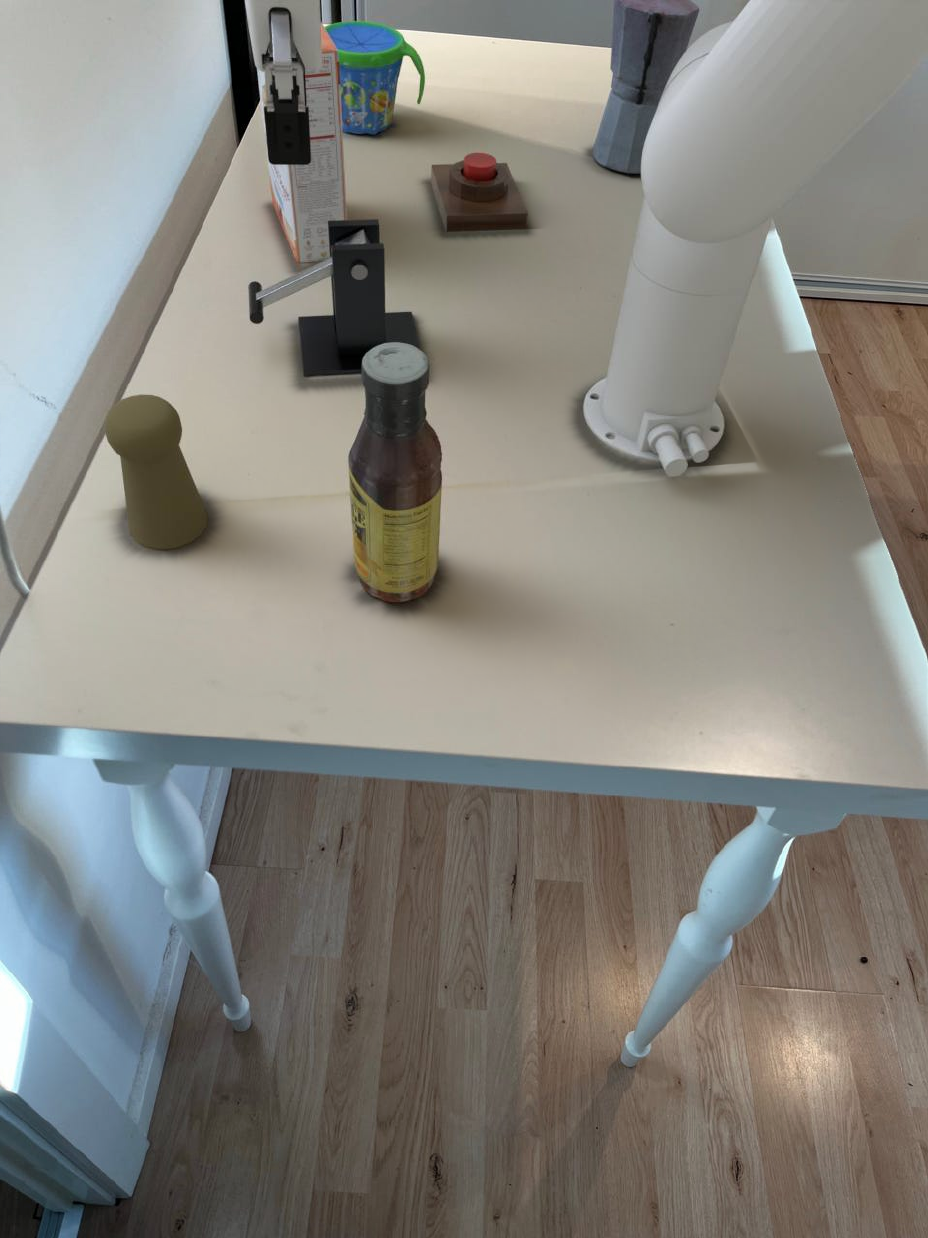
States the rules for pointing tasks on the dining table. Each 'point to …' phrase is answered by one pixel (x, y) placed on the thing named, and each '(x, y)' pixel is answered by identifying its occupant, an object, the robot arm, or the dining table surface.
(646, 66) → the moka pot
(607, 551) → the dining table surface
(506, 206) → the button block
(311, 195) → the cracker box
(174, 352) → the dining table surface
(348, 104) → the snack cup
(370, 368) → the sauce bottle
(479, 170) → the button
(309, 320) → the bracket
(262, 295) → the lever
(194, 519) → the olive pawn
